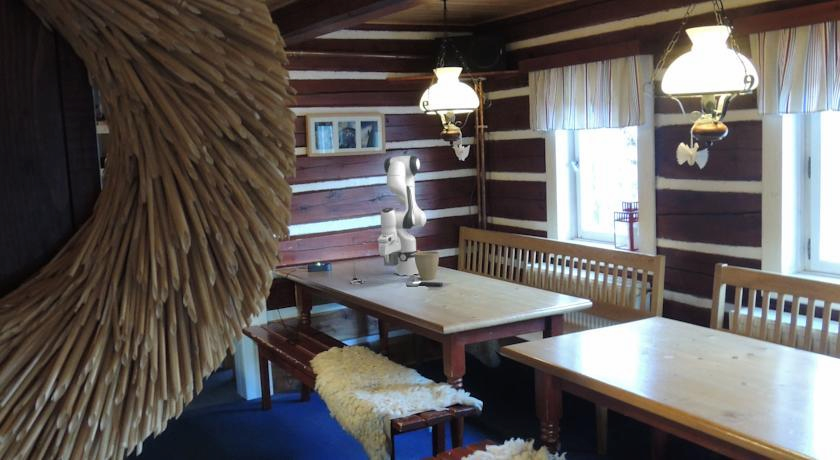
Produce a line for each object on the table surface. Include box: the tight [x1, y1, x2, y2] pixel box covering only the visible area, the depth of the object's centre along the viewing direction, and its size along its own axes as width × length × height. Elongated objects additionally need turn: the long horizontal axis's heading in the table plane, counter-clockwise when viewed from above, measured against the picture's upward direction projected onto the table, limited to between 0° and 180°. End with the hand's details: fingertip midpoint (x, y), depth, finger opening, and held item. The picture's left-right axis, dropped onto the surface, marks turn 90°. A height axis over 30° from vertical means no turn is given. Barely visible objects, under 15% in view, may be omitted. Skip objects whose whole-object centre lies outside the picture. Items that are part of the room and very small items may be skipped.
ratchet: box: [405, 275, 444, 287], centre depth 436 cm, size 22×9×6 cm, turn 63°
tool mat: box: [427, 282, 453, 291], centre depth 437 cm, size 20×26×1 cm
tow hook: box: [352, 260, 358, 280], centre depth 460 cm, size 8×13×9 cm
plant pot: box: [414, 250, 440, 281], centre depth 457 cm, size 15×15×16 cm
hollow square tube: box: [383, 251, 399, 267], centre depth 449 cm, size 6×6×7 cm
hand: (391, 260), depth 449 cm, fingers closed on hollow square tube, 6 cm apart
